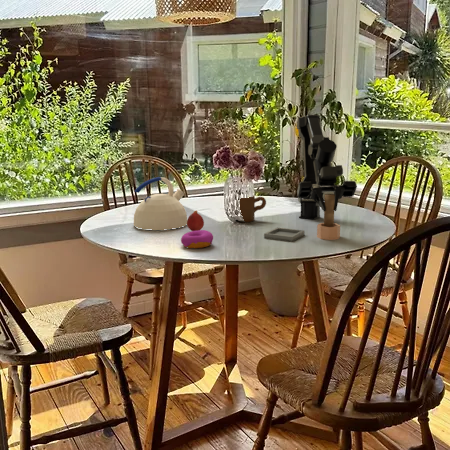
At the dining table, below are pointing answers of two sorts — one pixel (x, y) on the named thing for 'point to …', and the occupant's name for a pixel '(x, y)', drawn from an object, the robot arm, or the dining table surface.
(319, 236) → the terracotta cup
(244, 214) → the mug
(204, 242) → the donut
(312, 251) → the dining table surface
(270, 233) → the grey tray
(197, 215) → the onion
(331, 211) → the walnut dowel
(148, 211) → the kettle
